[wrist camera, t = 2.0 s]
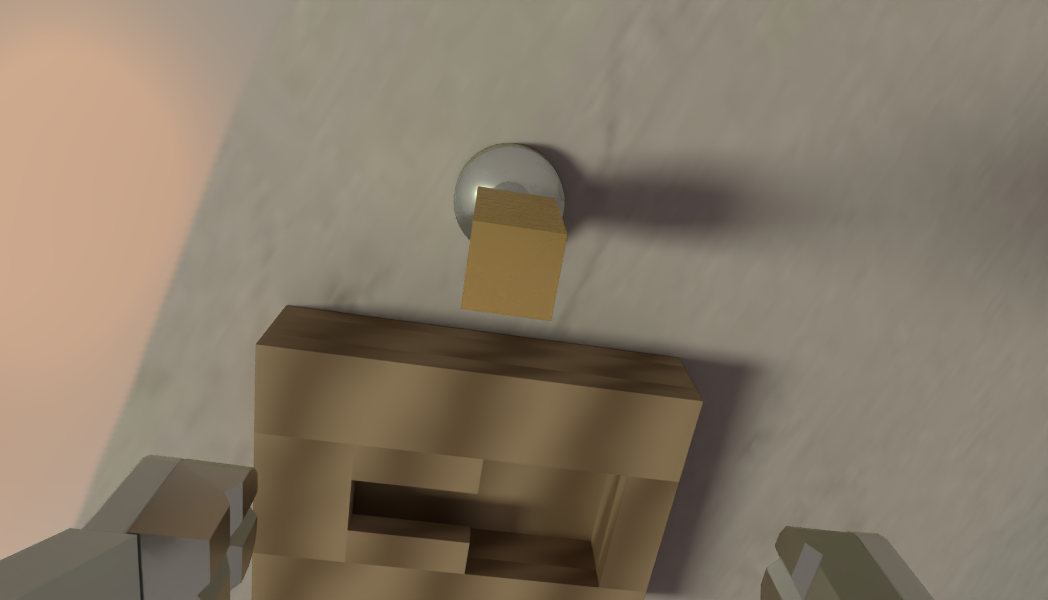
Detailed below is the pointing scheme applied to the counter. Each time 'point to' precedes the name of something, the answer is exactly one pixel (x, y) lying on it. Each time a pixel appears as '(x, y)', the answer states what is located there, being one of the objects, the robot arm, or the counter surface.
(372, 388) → the keyhole plate
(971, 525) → the counter surface
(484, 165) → the keyhole peg
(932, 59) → the counter surface
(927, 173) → the counter surface
